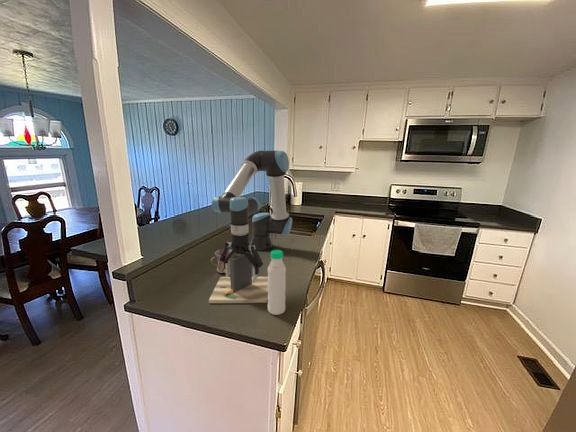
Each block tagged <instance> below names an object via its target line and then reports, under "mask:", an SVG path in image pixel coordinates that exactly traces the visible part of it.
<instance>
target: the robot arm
mask: <svg viewBox="0 0 576 432" xmlns="http://www.w3.org/2000/svg"><path fill="white" fill-rule="evenodd" d="M240 165H241V166H240V169H239V170H238V172H237V173H236V175H235V176H234V178H233V179H232V180H231V182H230V183H229V185H228V186H227V187H226V189H225V190H224V192H223V194H222V195H221V196H220V195H218V196H215V197H213V199H212V201H211V208H212V210H213V211H214V212H216V213H220V214H222V213H223V214H229V215H230V216H229V217H230V233H231V234H230V241H227V242H225V244H224V248H223V249H224V251H223V253H222V255H221V258H220V261H223V263H224V269H226V273H225V277H230V261H229V259H230V258H232V257H234V255H235V254H237V255H241V254H242V255H243V254H244V255H245V256H246V257H247V258H248V259H249V261H250V262H251V264H252V266H253V267H252V277H253V282H255V281H256V280H257V277H258V275H259V273H260V268H261V267H262V266H263V265H264V263H263V260H262V259H261V257H260V255H259V252H258V251H268V250H270V249H272V248H273V241H272V237H271V234H274V235H276V234H277V235H282V236H283V235H287V236H288V235H289V234H290V232H291V229H292V226H293V218H292V217H290V213H289V212H287V205H286V190H285V176H286V175H287V172H289V169H290V160H289V156H288V154H287V153H286V151H284V150H257V151H255V152H254V151H253V152H252V153H250V155H248V156H247V157H245V159H244V160H243V161H242V163H241V164H240ZM258 172H265V174H266V177H268V178H269V179H268V180H269V187H270V197H271V207H272V208H271V209H272V213H271V214H270V212H260V209H261V207H262V206H261V202H260V200H259V199H258V198H257V197H255V196H254V197H252V196H251V197H248V198H247V197H245V196H241V195H242V193H244V190H245V189H246V187H247V185H248V184H249V183H250V181H251V179H252V177H253V176H255V175H256V174H257V173H258ZM258 212H259V213H258ZM252 215H253V216H252ZM250 216H252V219H251V220H252V221H251V222H252V225H251V226H252V237H251V241H250V233H249V231H250V229H249V225H250V224H249V217H250ZM231 248H232V249H231ZM229 249H231V250H232V251H231V253H230V254H229V255H228V256H227V257H226V255H227V253H228V251H229ZM246 252H247V253H246ZM225 257H226V258H225Z"/></svg>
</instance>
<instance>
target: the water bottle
mask: <svg viewBox="0 0 576 432" xmlns="http://www.w3.org/2000/svg"><path fill="white" fill-rule="evenodd" d="M283 258H284V252H283V251H282V250H281V249H273V250H271V251H270V259H271V260H270V262H269V265H268V266H267V277H268V298H267V311H268V312H269V314H272V315H275V316H278V315H282V314H283V313H284V312H285V311H286V290H287V289H286V286H287V282H286V281H287V277H286V272H287V269H286V268H287V267H286V265H285V263H284V261H283Z"/></svg>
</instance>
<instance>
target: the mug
mask: <svg viewBox="0 0 576 432" xmlns="http://www.w3.org/2000/svg"><path fill="white" fill-rule="evenodd" d="M224 249H225V248H221V249H218V250H216V251H215V252H214V255H215V256H213V257H211V259H210V262H211V264H212V265H213V266H216V272H217V273H220V274H226V269H224V263H223V261H220V258H221V255H222V253H223V251H224ZM232 250H233V249H231V248H229V251H228V253H227V255H226V257H227V256H228V255H229V254H230V253H231V251H232ZM226 257H225V258H226ZM213 259H216V260H217V264H215V263H214V262H213ZM229 261H230V259H229Z"/></svg>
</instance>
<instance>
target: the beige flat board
mask: <svg viewBox="0 0 576 432" xmlns="http://www.w3.org/2000/svg"><path fill="white" fill-rule="evenodd" d="M229 290H231V280H230V276H228V277H226V276H219V279H218V281H217V283H216V285H215V286H214V289H213V290H212V293H211V295H210V297H209V298H208V304H268V276H257V280H256V281H255V282H253V276H252V284H250V285H248V286H246V287H244V288H242V289H240V290H238V291H236V292H233V291H232V292H230V293H228V294H226V295H225V294H224V293H225V292H227V291H229Z"/></svg>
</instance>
